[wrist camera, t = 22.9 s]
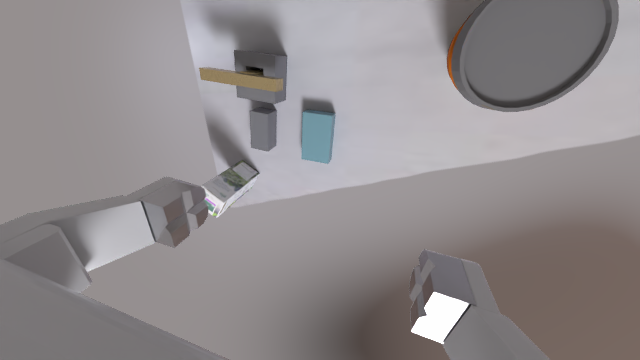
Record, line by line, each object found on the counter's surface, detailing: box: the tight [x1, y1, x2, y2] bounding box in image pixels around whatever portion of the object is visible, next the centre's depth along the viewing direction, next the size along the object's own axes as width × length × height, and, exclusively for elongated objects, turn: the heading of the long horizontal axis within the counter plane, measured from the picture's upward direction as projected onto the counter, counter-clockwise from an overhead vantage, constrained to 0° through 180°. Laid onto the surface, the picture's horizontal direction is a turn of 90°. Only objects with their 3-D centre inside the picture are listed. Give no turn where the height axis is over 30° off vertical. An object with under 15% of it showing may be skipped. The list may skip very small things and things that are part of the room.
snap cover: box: [302, 110, 335, 164], centre depth 47 cm, size 10×6×3 cm, turn 177°
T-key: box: [199, 67, 283, 92], centre depth 41 cm, size 14×2×10 cm, turn 84°
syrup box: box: [202, 161, 260, 218], centre depth 52 cm, size 6×6×14 cm
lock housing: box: [234, 50, 287, 151], centre depth 46 cm, size 18×8×5 cm, turn 174°
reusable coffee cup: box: [447, 0, 618, 112], centre depth 28 cm, size 13×13×15 cm
